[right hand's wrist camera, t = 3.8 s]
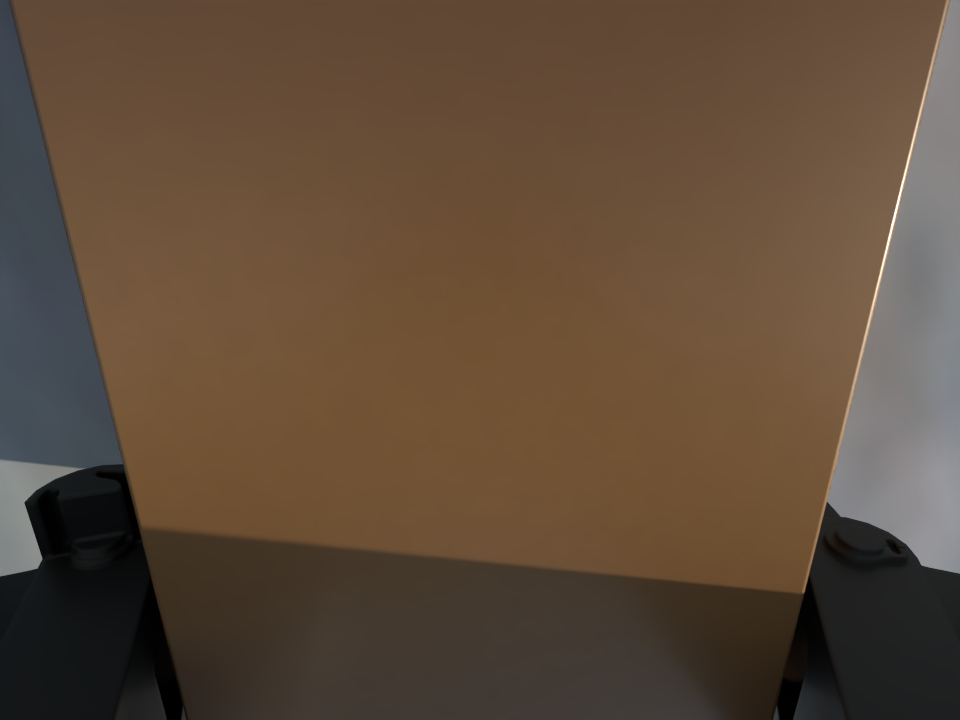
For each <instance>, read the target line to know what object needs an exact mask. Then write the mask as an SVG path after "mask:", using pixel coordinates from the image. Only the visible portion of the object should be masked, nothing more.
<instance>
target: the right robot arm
mask: <svg viewBox="0 0 960 720" xmlns="http://www.w3.org/2000/svg"><path fill="white" fill-rule="evenodd" d="M25 506H26V509H27V512H28V515H29V518H30V521H31V524H32V527H33V530H34V534H35V537H36V540H37V543H38V546H39V549H40V552H41V555H42V558H43V559H42V561H41V563H40V565H39V567H38V569H34V570H31V571H26V572H21V573H16V574H11V575H6V576H1V577H0V720H186V716H185V712H184V708H183V704H182V700H181V696H180V692H179V688H178V684H177V680H176V676H175V672H174V668H173V664H172V660H171V656H170V651H169V647H168V643H167V639H166V635H165V631H164V627H163V623H162V619H161V615H160V611H159V607H158V603H157V599H156V595H155V591H154V587H153V583H152V579H151V574H150V570H149V566H148V562H147V558H146V554H145V550H144V546H143V542H142V538H141V534H140V530H139V526H138V522H137V518H136V514H135V510H134V506H133V502H132V497H131V493H130V489H129V485H128V481H127V477H126V473H125V469H124V465H122V464H119V465H102V466H97V467H92V468H88V469H83V470H79V471H76V472H73V473H70V474H68V475H65V476H62V477H60V478H57V479H55V480H53V481H51V482H50V483H48V484H46V485H45V486H43V487H41V488H40V489H38V490H36V491H35V492H34V493H33V494H32V495H31V496H30V497H29V498H28V499H27V500H26V501H25ZM773 720H960V574H958V573H953V572H948V571H943V570H938V569H933V568H929V567H925V566H921V564H920V562H919V560H918V558H917V557H916V556H915V555H914V553H913V552H912V551H911V550H910V548H909V547H908V546H907V545H906V544H905V543H903V542H902V541H900V540H899V539H897V538H896V537H895V536H893V535H892V534H890V533H889V532H887V531H884V530H882V529H880V528H878V527H875V526H873V525H871V524H869V523H865V522H862V521H858V520H854V519H850V518H846V517H840V516H839V514H838V513H837V512H836V511H835V510H834V509H833V508H832V507H831V506H830V504H829V503H828V502H827V503H826V507H825V511H824V515H823V519H822V523H821V527H820V531H819V535H818V539H817V543H816V548H815V552H814V556H813V560H812V564H811V568H810V572H809V576H808V580H807V584H806V588H805V592H804V596H803V600H802V604H801V608H800V612H799V617H798V621H797V625H796V629H795V633H794V637H793V641H792V645H791V649H790V653H789V657H788V661H787V665H786V669H785V673H784V677H783V681H782V686H781V690H780V694H779V698H778V702H777V706H776V710H775V714H774V718H773Z"/></svg>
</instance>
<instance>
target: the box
mask: <svg viewBox="0 0 960 720" xmlns="http://www.w3.org/2000/svg"><path fill="white" fill-rule="evenodd" d="M9 3H10V7H11V11H12V15H13V19H14V23H15V27H16V31H17V35H18V39H19V44H20V48H21V52H22V56H23V60H24V64H25V68H26V72H27V76H28V80H29V84H30V88H31V92H32V96H33V100H34V104H35V108H36V112H37V116H38V121H39V125H40V129H41V133H42V137H43V141H44V145H45V149H46V153H47V157H48V161H49V165H50V169H51V173H52V177H53V181H54V185H55V189H56V193H57V198H58V202H59V206H60V210H61V214H62V218H63V222H64V226H65V230H66V234H67V238H68V242H69V246H70V250H71V254H72V258H73V262H74V266H75V270H76V275H77V279H78V283H79V287H80V291H81V295H82V299H83V303H84V307H85V311H86V315H87V319H88V323H89V327H90V331H91V335H92V339H93V343H94V348H95V352H96V356H97V360H98V364H99V368H100V372H101V376H102V380H103V384H104V388H105V392H106V396H107V400H108V404H109V408H110V412H111V416H112V420H113V425H114V429H115V433H116V437H117V441H118V445H119V449H120V453H121V457H122V461H123V465H124V469H125V473H126V477H127V481H128V485H129V489H130V493H131V497H132V502H133V506H134V510H135V514H136V518H137V522H138V526H139V530H140V534H141V538H142V542H143V546H144V550H145V554H146V558H147V562H148V566H149V570H150V574H151V579H152V583H153V587H154V591H155V595H156V599H157V603H158V607H159V611H160V615H161V619H162V623H163V627H164V631H165V635H166V639H167V643H168V647H169V651H170V656H171V660H172V664H173V668H174V672H175V676H176V680H177V684H178V688H179V692H180V696H181V700H182V704H183V708H184V712H185V716H186V720H773V718H774V714H775V710H776V706H777V702H778V698H779V694H780V690H781V686H782V681H783V677H784V673H785V669H786V665H787V661H788V657H789V653H790V649H791V645H792V641H793V637H794V633H795V629H796V625H797V621H798V617H799V612H800V608H801V604H802V600H803V596H804V592H805V588H806V584H807V580H808V576H809V572H810V568H811V564H812V560H813V556H814V552H815V548H816V543H817V539H818V535H819V531H820V527H821V523H822V519H823V515H824V511H825V507H826V503H827V499H828V495H829V491H830V487H831V483H832V479H833V474H834V470H835V466H836V462H837V458H838V454H839V450H840V446H841V442H842V438H843V434H844V430H845V426H846V422H847V418H848V414H849V409H850V405H851V401H852V397H853V393H854V389H855V385H856V381H857V377H858V373H859V369H860V365H861V361H862V357H863V353H864V349H865V345H866V340H867V336H868V332H869V328H870V324H871V320H872V316H873V312H874V308H875V304H876V300H877V296H878V292H879V288H880V284H881V280H882V276H883V271H884V267H885V263H886V259H887V255H888V251H889V247H890V243H891V239H892V235H893V231H894V227H895V223H896V219H897V215H898V211H899V206H900V202H901V198H902V194H903V190H904V186H905V182H906V178H907V174H908V170H909V166H910V162H911V158H912V154H913V150H914V146H915V142H916V137H917V133H918V129H919V125H920V121H921V117H922V113H923V109H924V105H925V101H926V97H927V93H928V89H929V85H930V81H931V77H932V73H933V68H934V64H935V60H936V56H937V52H938V48H939V44H940V40H941V36H942V32H943V28H944V24H945V20H946V16H947V12H948V8H949V3H950V0H9Z"/></svg>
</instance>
